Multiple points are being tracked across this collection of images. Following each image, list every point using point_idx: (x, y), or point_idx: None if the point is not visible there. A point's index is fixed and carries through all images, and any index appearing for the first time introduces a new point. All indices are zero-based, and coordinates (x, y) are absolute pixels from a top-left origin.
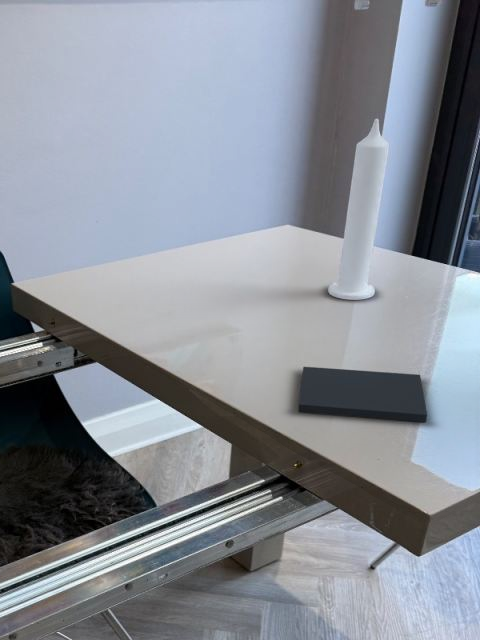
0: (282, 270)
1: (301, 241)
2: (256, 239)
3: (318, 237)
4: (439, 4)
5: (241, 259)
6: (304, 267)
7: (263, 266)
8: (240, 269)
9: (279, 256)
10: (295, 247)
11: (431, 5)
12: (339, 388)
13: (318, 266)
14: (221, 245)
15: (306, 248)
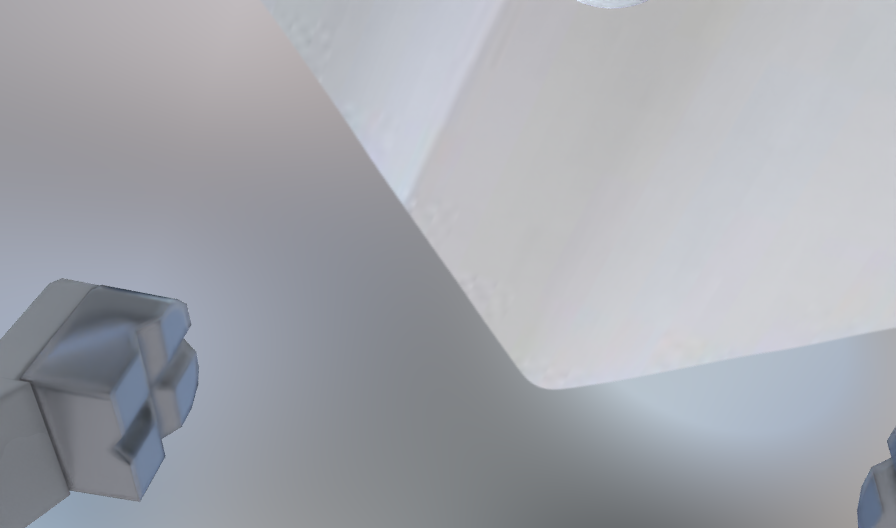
0: (727, 69)
1: (550, 286)
2: (661, 335)
3: (492, 302)
4: (69, 282)
5: (793, 196)
6: (648, 78)
7: (764, 119)
8: (849, 112)
9: (671, 190)
10: (589, 247)
11: (156, 297)
12: None
13: (602, 75)
14: (782, 319)
15: (563, 231)
